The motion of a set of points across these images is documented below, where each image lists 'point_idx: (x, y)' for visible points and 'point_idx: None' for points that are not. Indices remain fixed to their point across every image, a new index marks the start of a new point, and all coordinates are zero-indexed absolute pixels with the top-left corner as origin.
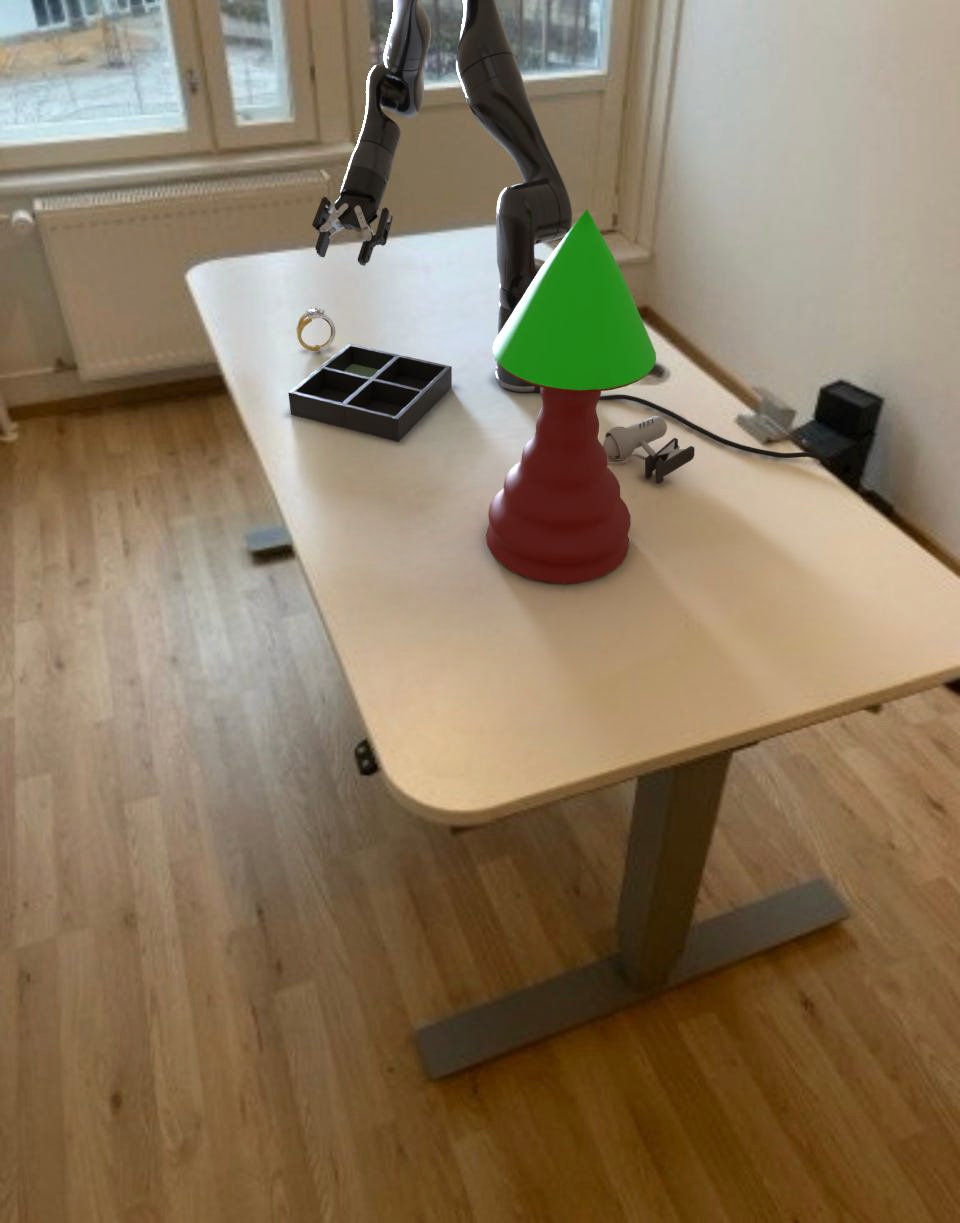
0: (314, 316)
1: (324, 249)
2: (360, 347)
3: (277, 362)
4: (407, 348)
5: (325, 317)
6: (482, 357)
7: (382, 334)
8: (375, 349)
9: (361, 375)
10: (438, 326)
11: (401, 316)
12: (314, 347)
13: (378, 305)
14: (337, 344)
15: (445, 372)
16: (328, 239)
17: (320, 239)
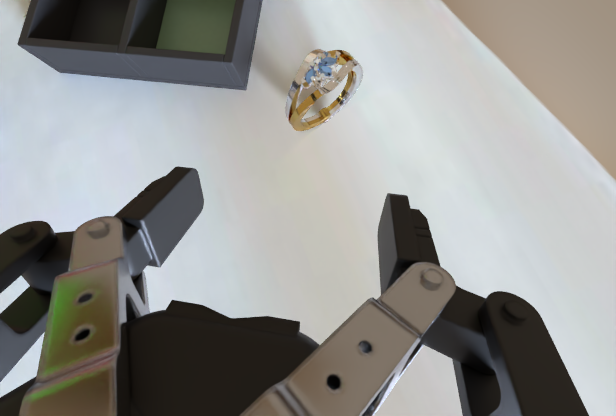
0: (315, 52)
1: (382, 235)
2: (203, 55)
3: (378, 55)
4: None
5: (296, 79)
6: (24, 196)
7: (229, 230)
8: (172, 57)
9: (206, 43)
10: None
11: None
12: (329, 108)
13: None
14: (300, 158)
15: (25, 20)
16: (384, 283)
17: (413, 233)
